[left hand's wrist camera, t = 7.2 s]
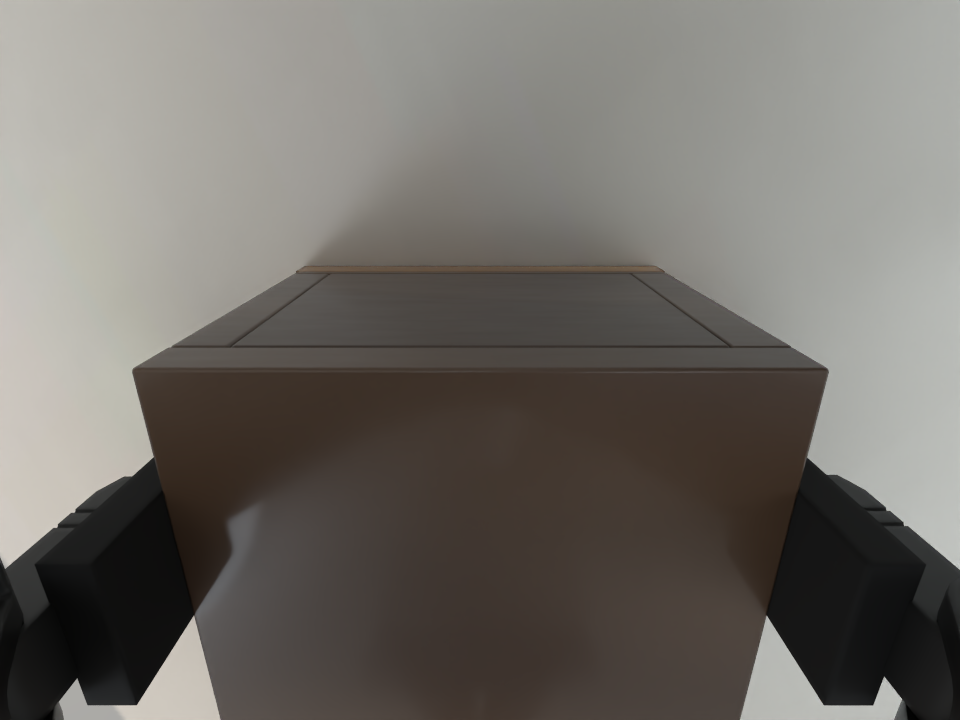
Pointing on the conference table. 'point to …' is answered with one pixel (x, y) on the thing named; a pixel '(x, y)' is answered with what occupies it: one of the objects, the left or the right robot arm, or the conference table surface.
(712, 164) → the conference table surface
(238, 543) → the cabinet
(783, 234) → the conference table surface
